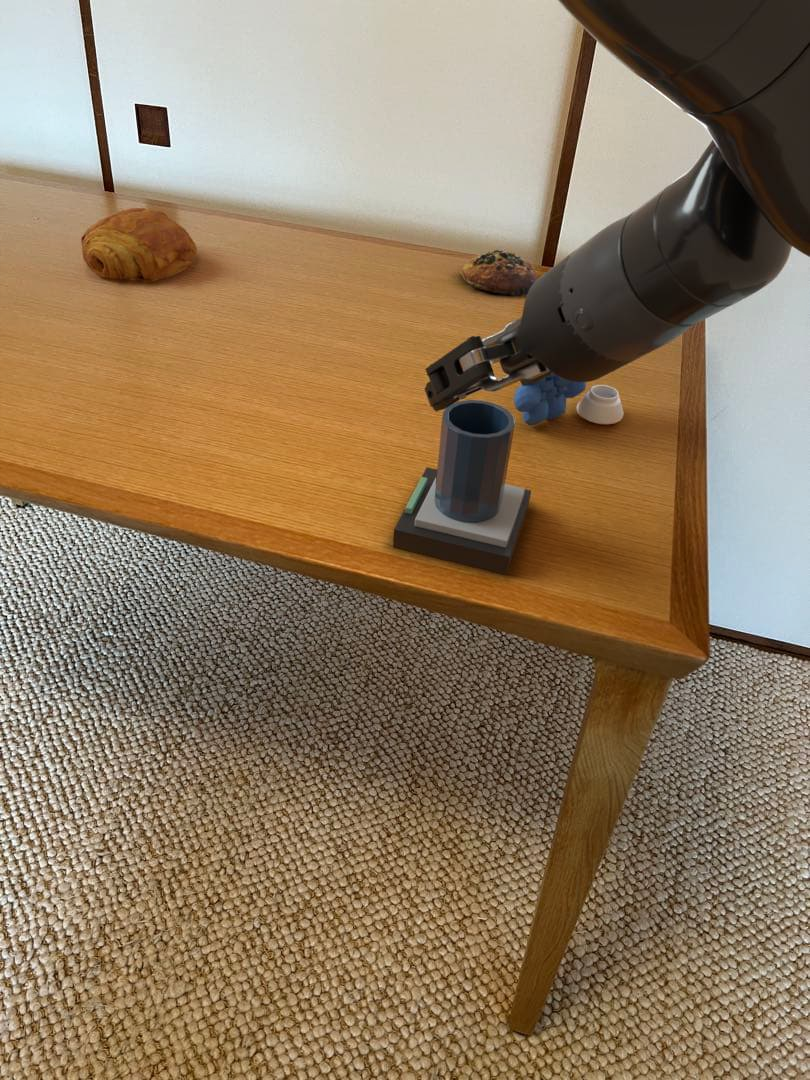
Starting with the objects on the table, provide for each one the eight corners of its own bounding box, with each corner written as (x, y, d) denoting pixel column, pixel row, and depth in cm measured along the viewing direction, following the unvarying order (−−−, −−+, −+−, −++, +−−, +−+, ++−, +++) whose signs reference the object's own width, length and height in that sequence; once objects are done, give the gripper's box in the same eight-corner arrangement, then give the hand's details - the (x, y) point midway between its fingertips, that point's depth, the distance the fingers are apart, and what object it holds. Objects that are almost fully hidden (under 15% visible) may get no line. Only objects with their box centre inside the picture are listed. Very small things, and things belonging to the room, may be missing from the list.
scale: (392, 547, 70) (394, 521, 68) (424, 484, 77) (427, 459, 76) (506, 575, 68) (511, 549, 66) (528, 507, 75) (532, 483, 74)
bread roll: (517, 301, 111) (518, 264, 109) (446, 292, 116) (446, 256, 114) (549, 281, 119) (552, 245, 116) (482, 272, 124) (482, 238, 121)
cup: (423, 510, 69) (431, 425, 64) (448, 476, 74) (458, 393, 68) (487, 530, 68) (500, 444, 62) (509, 494, 72) (523, 411, 67)
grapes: (555, 387, 94) (575, 286, 86) (600, 412, 90) (625, 309, 82) (483, 417, 88) (497, 311, 80) (528, 445, 84) (548, 337, 76)
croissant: (71, 283, 113) (51, 227, 108) (147, 237, 122) (132, 183, 117) (148, 307, 108) (132, 249, 102) (222, 257, 117) (211, 201, 111)
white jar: (570, 419, 88) (614, 432, 87) (575, 395, 86) (621, 408, 85) (583, 399, 92) (627, 411, 90) (589, 376, 90) (633, 388, 88)
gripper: (676, 224, 52) (532, 323, 66) (501, 257, 45) (383, 358, 60) (716, 335, 52) (563, 409, 66) (546, 384, 45) (418, 454, 60)
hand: (478, 385), depth 63 cm, fingers open, 8 cm apart
